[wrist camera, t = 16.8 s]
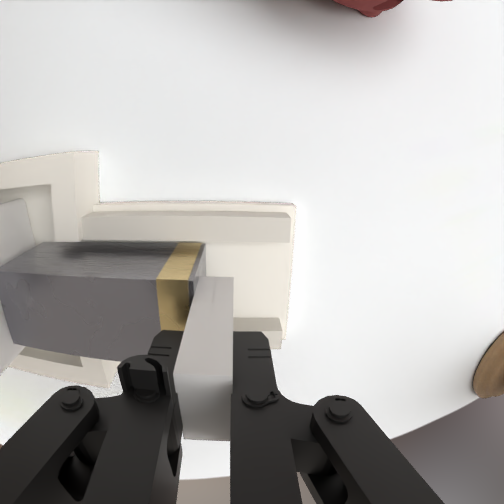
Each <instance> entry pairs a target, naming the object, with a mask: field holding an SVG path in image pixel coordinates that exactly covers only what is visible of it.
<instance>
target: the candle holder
mask: <svg viewBox="0 0 504 504" xmlns="http://www.w3.org/2000/svg"><path fill="white" fill-rule="evenodd" d="M473 389H474V391H475V393H476V394H477V395H478V396H479V397H480V398H489V397H492V396H495V397H496V396H500V395H502V394H504V333H502V334H501V335H500V336H499V337H498V338H497V340H496V341H495V342H494V343H493V344H492V345H491V347H490V348H489V349H488V351H487V352H486V354H485V355H484V357H483V358H482V360H481V362H480V364H479V366H478V368H477V370H476V373H475V376H474V380H473Z"/></svg>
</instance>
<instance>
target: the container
mask: <svg viewBox="0 0 504 504" xmlns="http://www.w3.org/2000/svg"><path fill="white" fill-rule="evenodd" d="M35 246H36V244H35V240H34V236H33V233H32V229H31V225H30V221H29V216H28V212H27V208H26V203H25V201H24V200H23V199H20V198H18V199H15V200H12V201H8V202H5V203H2V204H0V266H2V265H4V264H5V263H7V262H9V261H11V260H12V259H14V258H16V257H17V256H19V255H21V254H23V253H24V252H26V251H28V250H30V249H32V248H33V247H35ZM25 347H26V346H22V345H18V344H14V343H13V340H12V338H11V335H10V332H9V328H8V325H7V322H6V319H5V315H4V312H3V308H2V305H1V301H0V375H1V374H2V373H3V372H4V371H5V369H6V368H7V367H8V366H9V365H10V364H11V362H12V361H13V360H14V359H15V358H16V357H17V356H18V354H19V353H20V352H21V351H22V350H23V349H24V348H25Z"/></svg>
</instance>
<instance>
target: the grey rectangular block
mask: <svg viewBox="0 0 504 504" xmlns="http://www.w3.org/2000/svg"><path fill="white" fill-rule="evenodd" d="M199 276H206V244H205V243H183V242H179V243H129V242H43V243H41V244H39V245H37V246H35V247H33V248H32V249H30V250H28V251H26V252H24V253H23V254H21V255H19V256H17V257H16V258H14V259H12V260H11V261H9V262H7V263H5V264H4V265H2V266H0V301H1V305H2V308H3V312H4V315H5V319H6V322H7V325H8V328H9V332H10V335H11V338H12V340H13V343H14V344H18V345H22V346H27V347H32V348H36V349H41V350H47V351H52V352H57V353H63V354H69V355H75V356H82V357H88V358H95V359H103V360H111V361H119V362H122V361H123V360H125V359H127V358H129V357H132V356H136V355H148V351H149V348H150V346H151V343H152V341H153V338H154V337H155V336H156V335H157V334H158V333H160V332H161V331H162V330H176V331H184V330H185V326H186V322H187V319H188V315H189V311H190V308H191V304H192V301H193V297H194V294H195V291H196V287H197V283H198V280H199Z"/></svg>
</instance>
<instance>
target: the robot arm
mask: <svg viewBox="0 0 504 504" xmlns="http://www.w3.org/2000/svg"><path fill="white" fill-rule="evenodd" d="M233 293H234V277H208V276H199V280H198V283H197V287H196V291H195V294H194V297H193V301H192V304H191V308H190V311H189V315H188V319H187V322H186V326H185V330H184V331H176V330H162V331H161V332H160V333H158V334H157V335H156V336H155V337H154V338H153V341H152V343H151V346H150V348H149V351H148V355H136V356H132V357H129V358H127V359H125V360H123V361H122V362H121V363H120V364H119V365H118V366H117V370H118V374H119V378H120V382H121V385H122V389H123V393H122V394H121V395H119V396H114V397H106V398H94V396H93V394H92V392H91V391H90V390H88V389H87V388H85V387H81V386H68V387H65V388H62V389H60V390H59V391H57V392H56V393H54V394H53V395H52V396H51V397H50V398H49V399H48V400H47V401H46V402H45V403H44V404H43V405H42V406H41V407H40V408H39V409H38V410H37V411H36V412H35V413H34V414H33V415H32V416H31V417H30V419H29V420H28V421H27V422H26V423H25V424H24V425H23V426H22V427H21V428H20V429H19V430H18V431H17V432H16V433H15V434H14V435H13V436H12V437H11V438H10V439H9V440H8V441H7V442H6V443H5V444H4V445H3V446H2V448H1V449H0V504H176V500H177V492H178V483H179V475H180V468H181V460H182V446H181V436H182V431H183V437H184V439H192V440H212V441H230V497H231V500H230V501H231V502H230V504H302V499H301V494H300V489H299V483H298V477H297V472H300V474H301V476H302V478H303V480H304V482H305V484H306V486H307V487H308V489H309V491H310V493H311V495H312V497H313V498H314V500H315V502H316V504H444V503H443V501H442V500H441V499H440V498H439V497H438V496H437V494H436V493H435V492H434V491H433V490H432V489H431V488H430V486H429V485H428V484H427V483H426V482H425V480H424V479H423V478H422V477H421V476H420V475H419V474H418V473H417V471H416V470H415V469H414V468H413V466H412V465H411V464H410V463H409V462H408V461H407V459H406V458H405V457H404V456H403V455H402V454H401V452H400V451H399V450H398V449H397V448H396V447H395V445H394V444H393V443H392V442H391V440H390V439H389V438H388V437H387V436H386V435H385V433H384V432H383V431H382V430H381V429H380V427H379V426H378V425H377V424H376V423H375V421H374V420H373V419H372V418H371V417H370V415H369V414H368V413H367V412H366V411H365V409H364V408H363V407H362V406H361V405H360V404H359V403H358V402H356V401H355V400H354V399H351V398H349V397H346V396H339V395H334V396H327V397H325V398H322V399H320V400H319V401H318V402H317V403H316V404H315V405H314V406H310V405H304V404H299V403H295V402H292V401H290V400H288V399H286V398H285V397H284V396H283V395H281V393H280V391H279V390H278V388H277V385H276V379H275V374H274V368H273V362H272V358H271V350H270V345H269V339H268V338H267V337H266V336H265V335H264V334H263V333H262V332H261V331H233Z"/></svg>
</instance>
